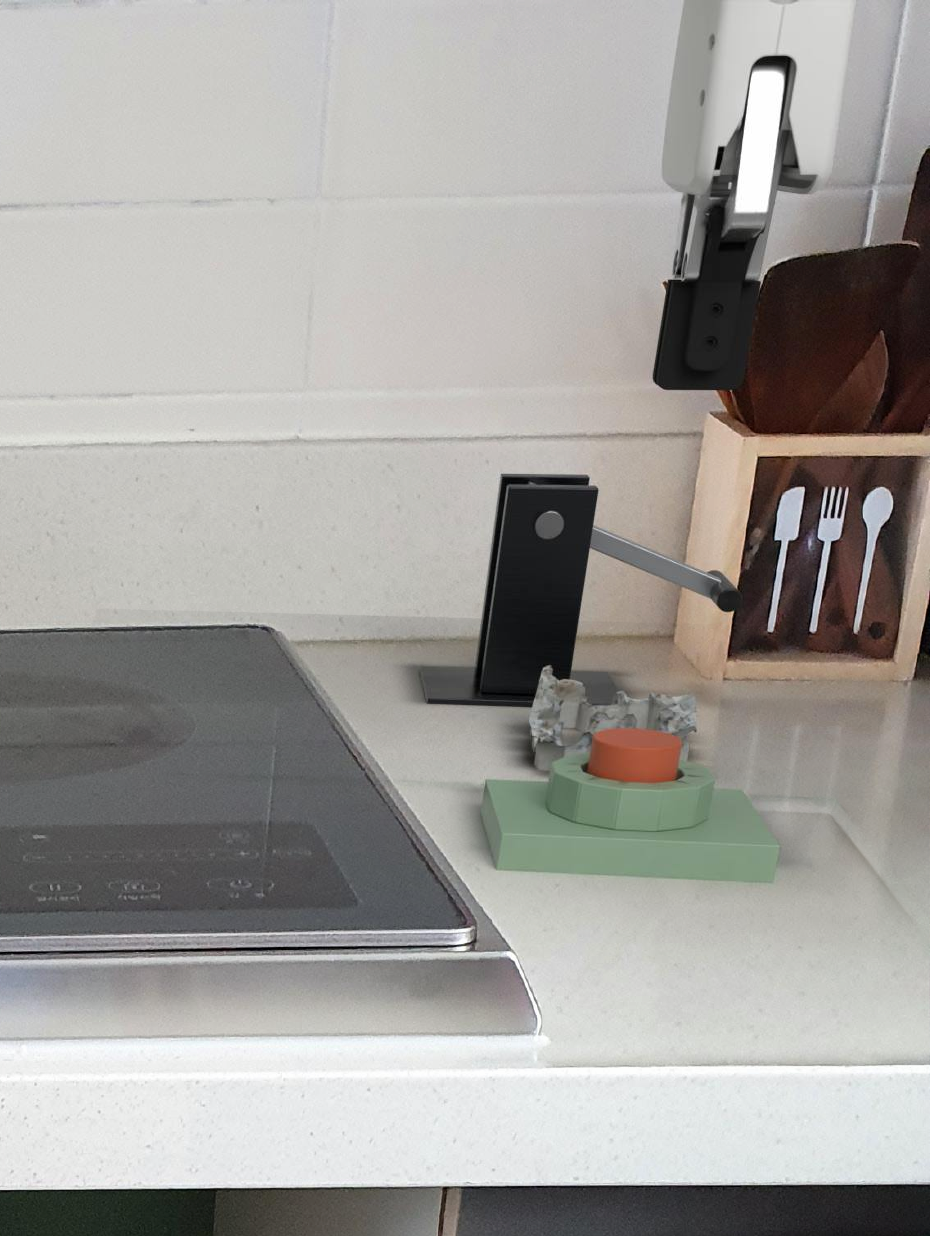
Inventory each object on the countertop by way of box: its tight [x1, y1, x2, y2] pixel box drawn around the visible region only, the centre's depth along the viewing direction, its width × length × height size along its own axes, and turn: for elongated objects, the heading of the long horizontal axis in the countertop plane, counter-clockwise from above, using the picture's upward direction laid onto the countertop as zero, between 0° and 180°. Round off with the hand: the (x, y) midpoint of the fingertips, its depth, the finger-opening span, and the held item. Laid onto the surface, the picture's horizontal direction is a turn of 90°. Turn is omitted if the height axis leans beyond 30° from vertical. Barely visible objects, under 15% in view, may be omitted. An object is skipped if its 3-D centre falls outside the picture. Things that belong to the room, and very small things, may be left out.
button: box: [587, 728, 682, 783], centre depth 98 cm, size 4×4×2 cm
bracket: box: [419, 473, 620, 708], centre depth 121 cm, size 10×8×12 cm
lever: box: [527, 482, 743, 613], centre depth 119 cm, size 12×6×2 cm, turn 76°
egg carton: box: [528, 665, 698, 772], centre depth 110 cm, size 11×8×4 cm
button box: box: [480, 753, 781, 884], centre depth 99 cm, size 11×9×4 cm
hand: (696, 386), depth 91 cm, fingers closed
